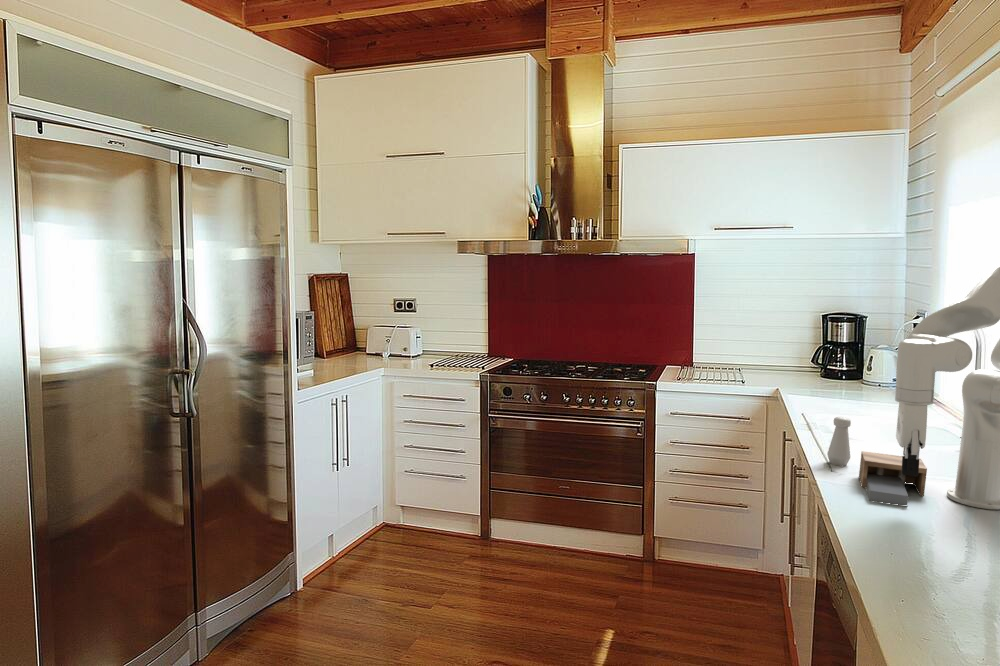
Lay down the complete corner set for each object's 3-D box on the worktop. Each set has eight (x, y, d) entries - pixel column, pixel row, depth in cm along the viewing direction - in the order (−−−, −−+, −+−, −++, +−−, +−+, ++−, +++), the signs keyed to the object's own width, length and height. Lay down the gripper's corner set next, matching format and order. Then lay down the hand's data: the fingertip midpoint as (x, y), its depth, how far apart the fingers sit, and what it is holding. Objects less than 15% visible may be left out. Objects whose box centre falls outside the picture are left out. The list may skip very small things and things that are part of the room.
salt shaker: (850, 468, 207) (855, 421, 206) (827, 465, 209) (832, 418, 208) (848, 462, 213) (852, 416, 211) (825, 459, 215) (830, 414, 213)
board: (864, 484, 195) (865, 472, 195) (899, 489, 192) (900, 477, 192) (868, 502, 180) (870, 490, 180) (906, 508, 177) (908, 496, 177)
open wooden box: (858, 476, 200) (861, 451, 199) (917, 484, 195) (920, 458, 194) (861, 487, 190) (864, 460, 190) (923, 496, 186) (927, 468, 185)
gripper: (891, 387, 179) (887, 463, 182) (899, 401, 166) (895, 483, 168) (928, 389, 177) (923, 466, 179) (939, 403, 163) (934, 487, 166)
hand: (909, 474), depth 174 cm, fingers closed
